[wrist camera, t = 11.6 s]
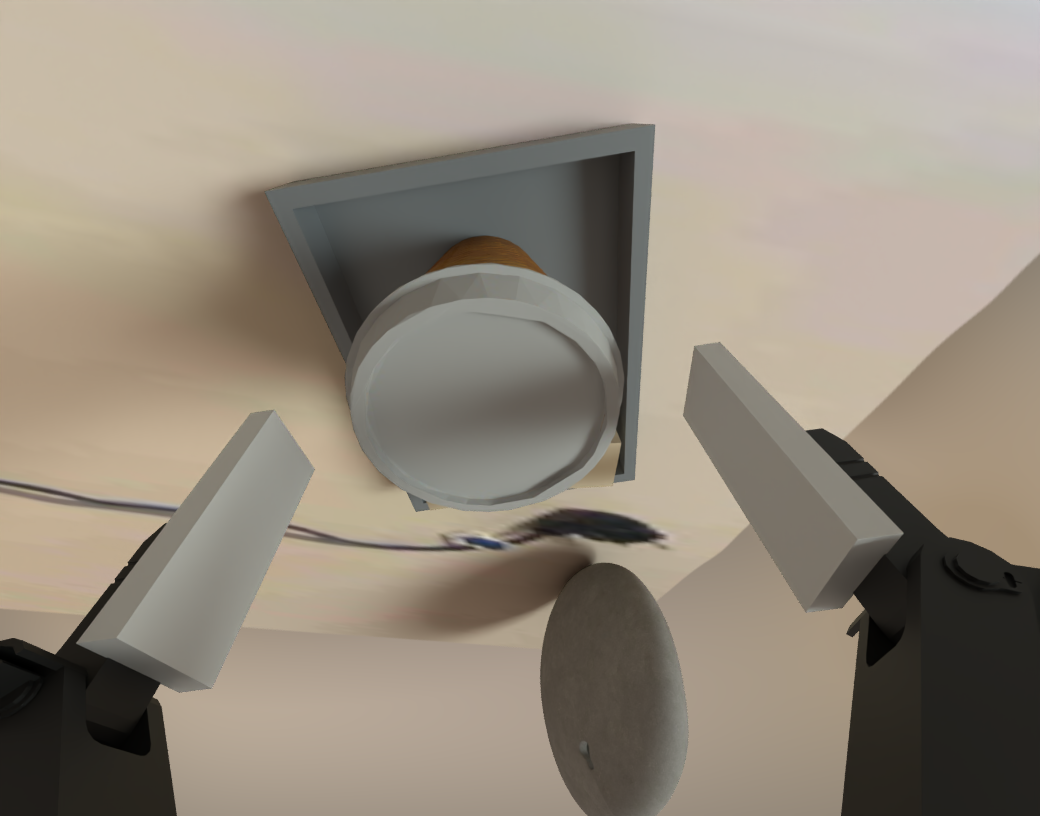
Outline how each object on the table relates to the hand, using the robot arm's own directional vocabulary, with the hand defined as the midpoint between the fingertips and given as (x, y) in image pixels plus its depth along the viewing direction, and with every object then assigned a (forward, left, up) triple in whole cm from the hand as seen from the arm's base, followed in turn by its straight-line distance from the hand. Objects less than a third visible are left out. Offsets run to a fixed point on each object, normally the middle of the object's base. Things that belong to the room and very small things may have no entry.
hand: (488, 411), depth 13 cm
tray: (+4, 0, -12) cm, 13 cm away
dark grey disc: (+33, +4, -13) cm, 36 cm away
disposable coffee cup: (0, 0, -12) cm, 12 cm away
